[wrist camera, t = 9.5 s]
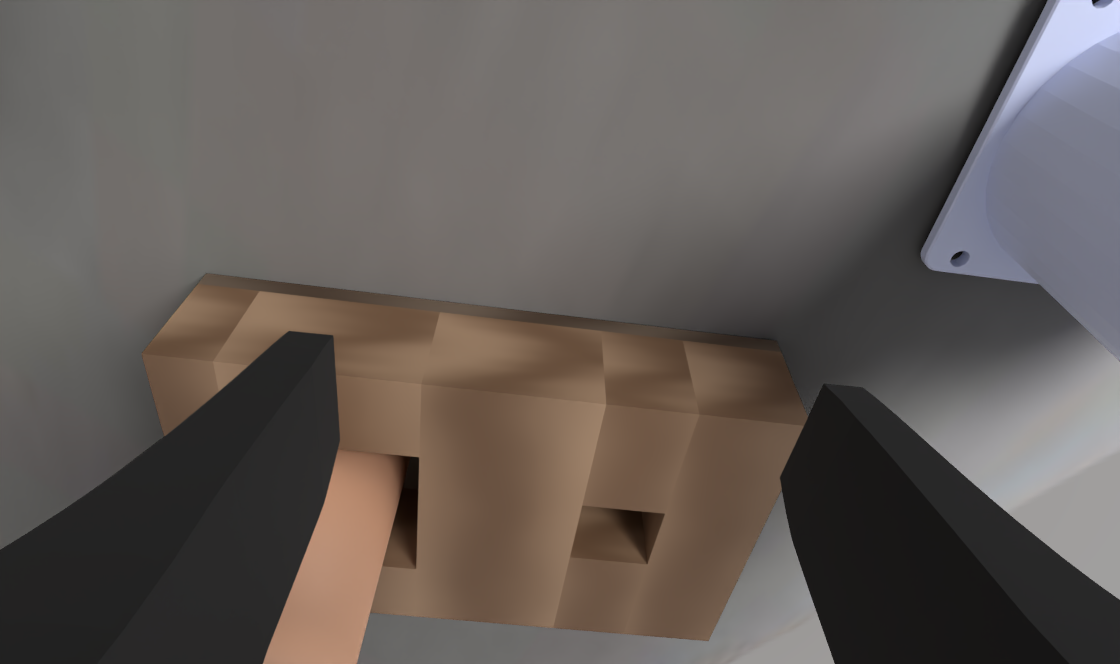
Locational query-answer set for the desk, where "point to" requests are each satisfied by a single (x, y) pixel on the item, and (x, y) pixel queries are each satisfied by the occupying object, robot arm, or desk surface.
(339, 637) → the pin
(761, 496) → the socket block
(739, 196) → the desk surface
